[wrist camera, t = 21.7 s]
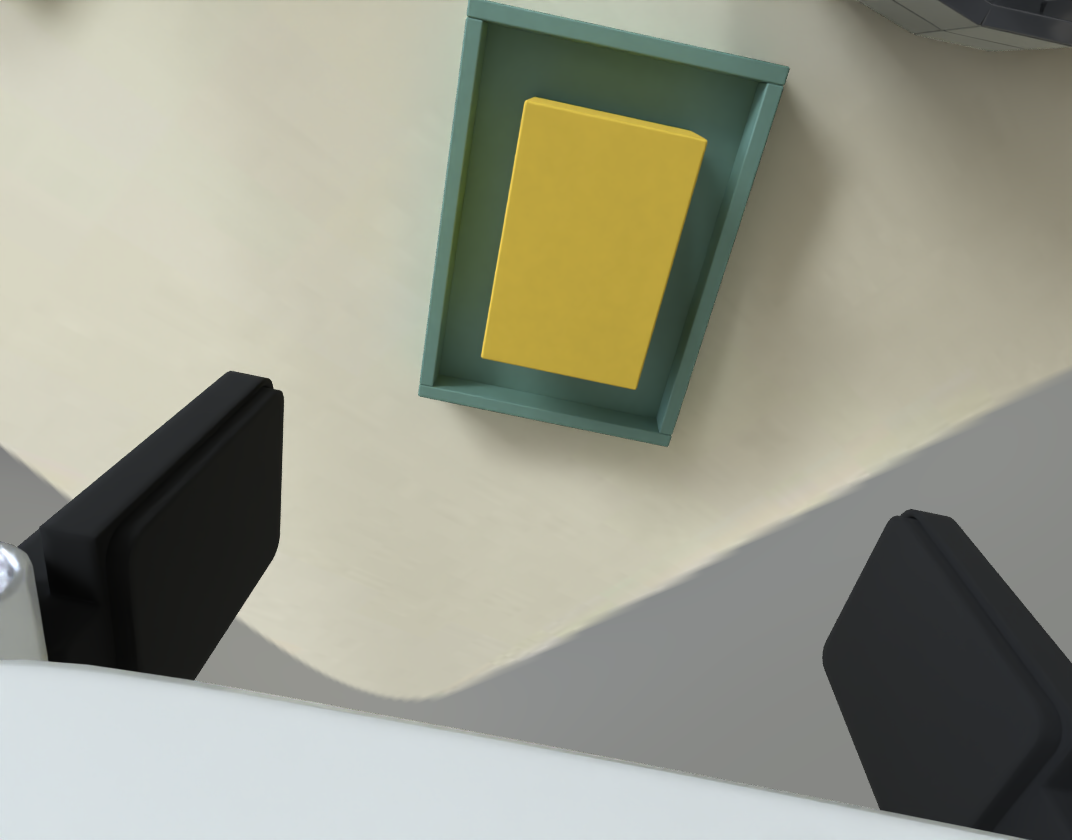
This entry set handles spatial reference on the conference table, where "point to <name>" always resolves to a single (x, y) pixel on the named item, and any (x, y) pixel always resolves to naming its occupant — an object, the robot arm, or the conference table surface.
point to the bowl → (984, 22)
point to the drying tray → (484, 181)
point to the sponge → (588, 240)
